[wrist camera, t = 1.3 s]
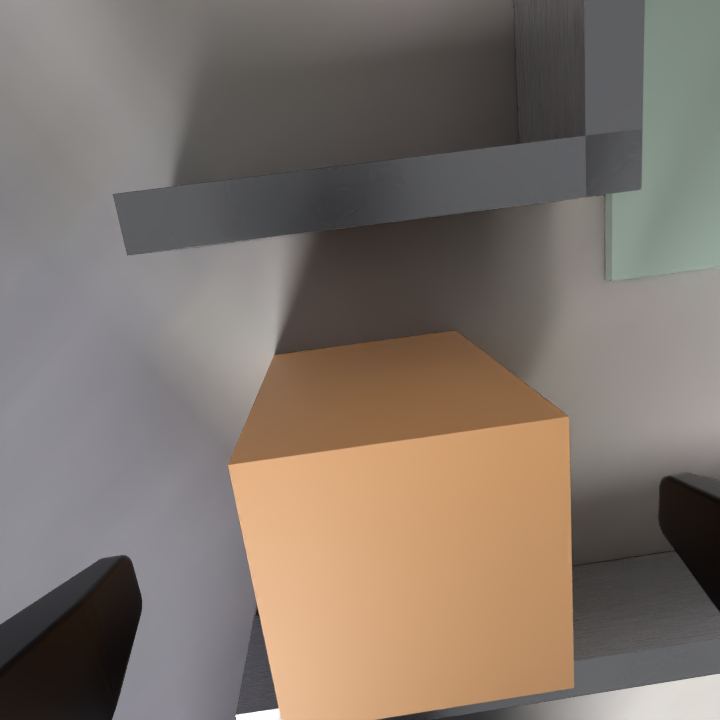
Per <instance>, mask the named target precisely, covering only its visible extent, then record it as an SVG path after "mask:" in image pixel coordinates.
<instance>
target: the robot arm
mask: <svg viewBox="0 0 720 720" xmlns="http://www.w3.org/2000/svg"><path fill="white" fill-rule="evenodd" d="M658 518H659V525H660V528H661V530H662V532H663V534H664V536H665V537H666V539H667V540H668V541H669V543H670V544H671V546H672V547H673V548H674V550H675V551H676V553H677V554H678V555H679V557H680V558H681V560H682V561H683V562H684V564H685V565H686V567H687V568H688V569H689V571H690V572H691V574H692V575H693V576H694V578H695V579H696V581H697V582H698V583H699V585H700V586H701V588H702V589H703V590H704V592H705V593H706V595H707V596H708V597H709V599H710V600H711V602H712V603H713V604H714V606H715V607H716V608H717V609H718V611H719V612H720V481H719V480H715V479H711V478H708V477H704V476H700V475H696V474H692V473H679V474H673V475H667V476H664V477H663V478H662V479H661V481H660V485H659V515H658ZM141 612H142V597H141V593H140V589H139V585H138V582H137V578H136V574H135V571H134V567H133V564H132V561H131V559H130V558H129V557H128V556H126V555H120V556H113V557H107V558H102V559H100V560H98V561H97V562H95V563H94V564H92V565H91V566H89V567H88V568H86V569H84V570H83V571H81V572H80V573H78V574H77V575H75V576H74V577H72V578H71V579H69V580H68V581H66V582H65V583H63V584H62V585H60V586H59V587H57V588H55V589H54V590H52V591H51V592H49V593H48V594H46V595H45V596H43V597H42V598H40V599H39V600H37V601H36V602H34V603H33V604H31V605H29V606H28V607H26V608H25V609H23V610H22V611H20V612H19V613H17V614H16V615H14V616H13V617H11V618H10V619H8V620H7V621H5V622H4V623H2V624H0V720H112V718H113V715H114V712H115V709H116V706H117V702H118V699H119V696H120V692H121V688H122V685H123V681H124V677H125V673H126V669H127V665H128V662H129V658H130V654H131V650H132V646H133V643H134V639H135V635H136V631H137V627H138V624H139V620H140V616H141Z"/></svg>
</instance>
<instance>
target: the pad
mask: <svg viewBox="0 0 720 720" xmlns="http://www.w3.org/2000/svg"><path fill="white" fill-rule="evenodd" d="M717 267H720V0H645V18H644V75H643V133H642V190H636V191H629V192H621V193H614V194H606V195H605V280H606V281H619V280H627V279H634V278H642V277H649V276H657V275H664V274H672V273H679V272H687V271H694V270H702V269H709V268H717Z"/></svg>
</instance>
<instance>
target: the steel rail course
mask: <svg viewBox="0 0 720 720" xmlns="http://www.w3.org/2000/svg"><path fill="white" fill-rule="evenodd" d="M513 2H514V27H515V52H516V76H517V101H518V126H519V144H514V145H506V146H498V147H490V148H482V149H474V150H466V151H457V152H449V153H441V154H433V155H425V156H417V157H409V158H401V159H393V160H385V161H376V162H368V163H360V164H352V165H344V166H336V167H328V168H320V169H312V170H304V171H296V172H287V173H279V174H271V175H263V176H255V177H247V178H239V179H231V180H223V181H215V182H206V183H198V184H190V185H182V186H174V187H166V188H158V189H150V190H142V191H134V192H125V193H117V194H113V197H114V201H115V206H116V210H117V214H118V218H119V223H120V227H121V231H122V235H123V239H124V244H125V248H126V252H127V255H135V254H143V253H152V252H161V251H169V250H178V249H186V248H193V247H201V246H209V245H217V244H225V243H233V242H240V241H248V240H256V239H264V238H272V237H280V236H287V235H295V234H303V233H311V232H319V231H327V230H335V229H342V228H350V227H358V226H366V225H374V224H382V223H389V222H397V221H405V220H413V219H421V218H429V217H436V216H444V215H452V214H460V213H468V212H476V211H483V210H491V209H499V208H507V207H515V206H523V205H530V204H538V203H546V202H554V201H562V200H569V199H577V198H584V197H592V196H599V195H606V194H614V193H621V192H629V191H636V190H642V133H643V75H644V18H645V0H513ZM572 595H573V650H574V688H571V689H564V690H558V691H552V692H546V693H539V694H533V695H527V696H521V697H514V698H508V699H502V700H495V701H489V702H483V703H477V704H470V705H464V706H458V707H452V708H445V709H439V710H433V711H426V712H420V713H414V714H408V715H401V716H395V717H389V718H383V719H376V720H433V719H440V718H446V717H452V716H458V715H465V714H471V713H477V712H483V711H489V710H496V709H502V708H508V707H514V706H521V705H527V704H533V703H539V702H545V701H552V700H558V699H564V698H570V697H577V696H583V695H589V694H595V693H601V692H608V691H614V690H620V689H626V688H633V687H639V686H645V685H651V684H657V683H664V682H670V681H676V680H682V679H688V678H695V677H701V676H707V675H713V674H720V612H719V611H718V609H717V608H716V607H715V606H714V604H713V603H712V602H711V600H710V599H709V597H708V596H707V595H706V593H705V592H704V590H703V589H702V588H701V586H700V585H699V583H698V582H697V581H696V579H695V578H694V576H693V575H692V574H691V572H690V571H689V569H688V568H687V567H686V565H685V564H684V562H683V561H682V560H681V558H680V557H679V555H678V554H677V553H676V551H672V552H666V553H659V554H652V555H646V556H639V557H633V558H626V559H619V560H613V561H606V562H600V563H593V564H587V565H580V566H573V567H572ZM236 718H237V720H281V716H280V712H279V707H278V702H277V697H276V692H275V688H274V683H273V678H272V673H271V668H270V664H269V659H268V654H267V649H266V644H265V640H264V635H263V630H262V625H261V621H260V616H259V614H258V615H254V621H253V626H252V631H251V637H250V642H249V647H248V653H247V658H246V663H245V669H244V674H243V680H242V685H241V690H240V696H239V701H238V706H237V712H236Z"/></svg>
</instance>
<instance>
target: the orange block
mask: <svg viewBox="0 0 720 720" xmlns="http://www.w3.org/2000/svg"><path fill="white" fill-rule="evenodd" d="M228 467H229V472H230V477H231V481H232V486H233V491H234V496H235V501H236V505H237V510H238V515H239V520H240V525H241V529H242V534H243V539H244V544H245V549H246V553H247V558H248V563H249V568H250V573H251V577H252V582H253V587H254V592H255V597H256V601H257V606H258V611H259V616H260V621H261V625H262V630H263V635H264V640H265V644H266V649H267V654H268V659H269V664H270V668H271V673H272V678H273V683H274V688H275V692H276V697H277V702H278V707H279V712H280V716H281V720H376V719H383V718H389V717H395V716H401V715H408V714H414V713H420V712H426V711H433V710H439V709H445V708H452V707H458V706H464V705H470V704H477V703H483V702H489V701H495V700H502V699H508V698H514V697H521V696H527V695H533V694H539V693H546V692H552V691H558V690H564V689H571V688H574V650H573V595H572V540H571V485H570V430H569V416H568V415H566V414H565V413H564V412H562V411H561V410H560V409H559V408H557V407H556V406H555V405H553V404H552V403H551V402H549V401H548V400H547V399H545V398H544V397H543V396H542V395H540V394H539V393H538V392H536V391H535V390H534V389H532V388H531V387H530V386H528V385H527V384H526V383H524V382H523V381H522V380H521V379H519V378H518V377H517V376H515V375H514V374H513V373H511V372H510V371H509V370H507V369H506V368H505V367H503V366H502V365H501V364H500V363H498V362H497V361H496V360H494V359H493V358H492V357H490V356H489V355H488V354H486V353H485V352H484V351H483V350H481V349H480V348H479V347H477V346H476V345H475V344H473V343H472V342H471V341H469V340H468V339H467V338H465V337H464V336H463V335H462V334H460V333H459V332H458V331H456V330H455V331H447V332H440V333H432V334H425V335H418V336H410V337H403V338H395V339H388V340H381V341H373V342H366V343H358V344H351V345H344V346H336V347H329V348H321V349H314V350H307V351H299V352H292V353H284V354H277V355H274V357H273V359H272V361H271V364H270V366H269V369H268V371H267V373H266V376H265V378H264V381H263V383H262V385H261V388H260V390H259V392H258V395H257V397H256V400H255V402H254V404H253V407H252V409H251V412H250V414H249V416H248V419H247V421H246V424H245V426H244V428H243V431H242V433H241V435H240V438H239V440H238V443H237V445H236V447H235V450H234V452H233V455H232V457H231V459H230V462H229V464H228Z"/></svg>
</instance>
